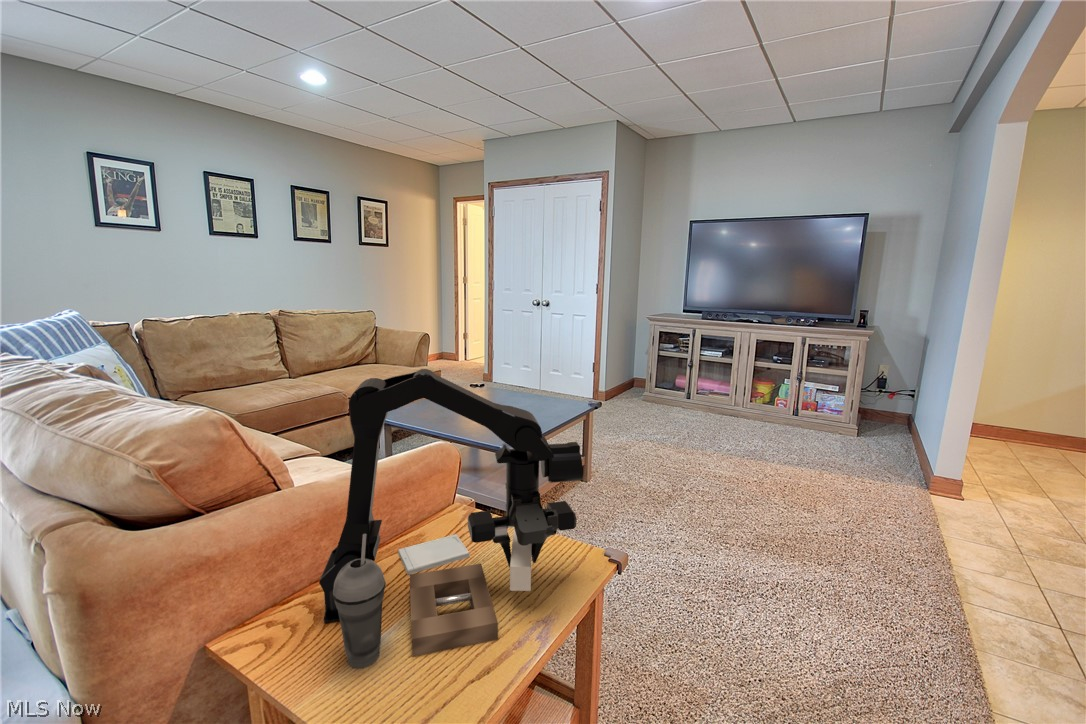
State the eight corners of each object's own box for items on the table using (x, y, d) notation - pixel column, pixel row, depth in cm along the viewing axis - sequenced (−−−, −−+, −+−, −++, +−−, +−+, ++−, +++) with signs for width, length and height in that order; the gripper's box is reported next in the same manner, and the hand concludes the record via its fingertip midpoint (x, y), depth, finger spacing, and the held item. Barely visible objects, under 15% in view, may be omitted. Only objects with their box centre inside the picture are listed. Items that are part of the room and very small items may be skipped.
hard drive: (456, 533, 104) (397, 548, 98) (469, 552, 97) (407, 569, 91) (456, 540, 104) (398, 555, 98) (469, 559, 97) (407, 577, 91)
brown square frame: (412, 656, 72) (411, 639, 71) (410, 589, 87) (409, 574, 86) (497, 639, 76) (497, 622, 75) (481, 577, 91) (481, 563, 90)
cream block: (509, 590, 81) (510, 566, 80) (513, 550, 93) (513, 528, 92) (530, 590, 81) (530, 566, 80) (531, 550, 93) (532, 529, 92)
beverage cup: (350, 637, 75) (342, 520, 72) (395, 639, 75) (390, 522, 72) (328, 675, 68) (318, 547, 65) (378, 677, 68) (371, 549, 64)
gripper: (476, 511, 74) (477, 602, 77) (589, 497, 79) (586, 582, 82) (466, 481, 84) (467, 562, 87) (567, 470, 89) (564, 547, 92)
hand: (521, 563), depth 87 cm, fingers closed on cream block, 4 cm apart
